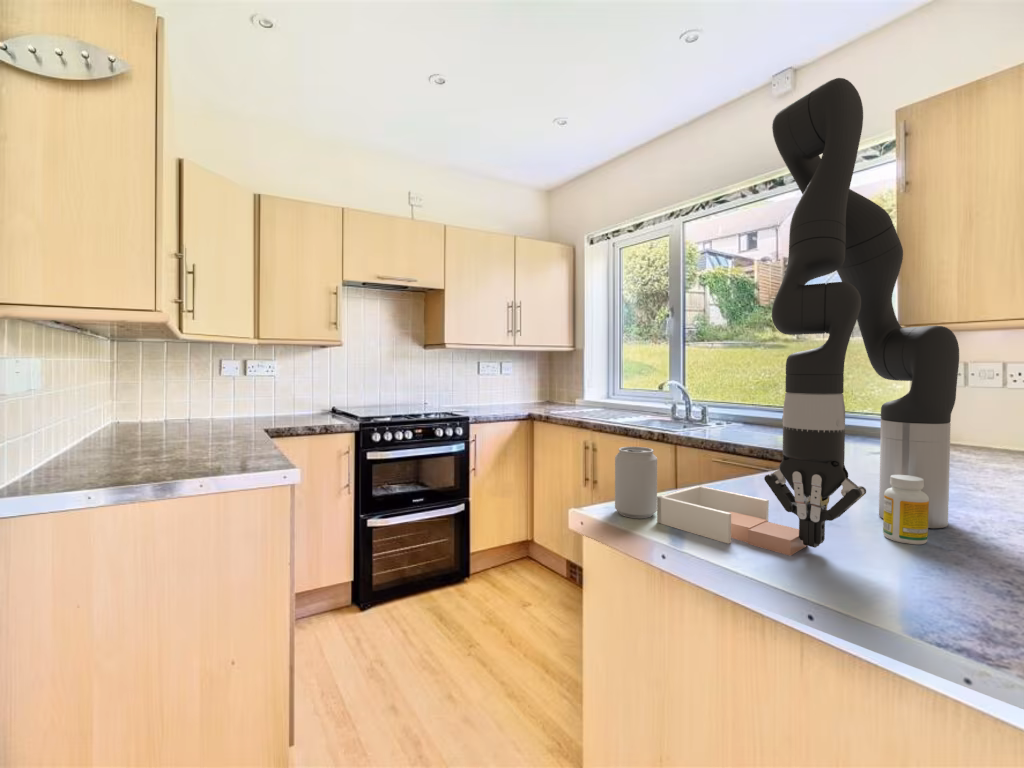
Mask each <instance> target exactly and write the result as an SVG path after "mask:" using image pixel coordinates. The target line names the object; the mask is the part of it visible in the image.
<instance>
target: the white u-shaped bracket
mask: <svg viewBox="0 0 1024 768" xmlns="http://www.w3.org/2000/svg"><path fill="white" fill-rule="evenodd" d="M769 506H770V505H769V499H765V498H761V497H755V496H751V495H745V494H743V493H742V494H741V493H736V492H733V491H732V492H731V491H727V490H722V489H717V488H712V487H708V486H705V485H704V486H703V485H699V484H698V485H696V486H692V487H687V488H685V489H684V488H683V489H680V490H677V491H674V492H669V493H665V494H662V495H657V511H656V522H657V524H661V525H664V526H667V527H672V528H675V529H679V530H681V531H684V532H688V533H691V534H695V535H698V536H701V537H705V538H708V539H711V540H715V541H718V542H721V543H724V544H728V545H730V543H732V538H731V513H728V512H735V513H740V514H744V515H748V516H753V517H757V518H761V519H765V520H768V521H769Z"/></svg>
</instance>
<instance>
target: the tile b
mask: <svg viewBox="0 0 1024 768" xmlns="http://www.w3.org/2000/svg"><path fill="white" fill-rule="evenodd" d="M747 544H748V545H752V546H755V547H758V548H761V549H764V550H768V551H771V552H776V553H779V554H783V555H786V556H790V557H791V556H792V555H794V554H796V553H798V552H799V551H801V550H803V549H805V548H806V545H803V540H800V538H799V528H796V527H792V526H791V527H790V526H787V525H783V524H778V523H775V522H769V521H768V522H767V521H766V522H764V523H762V524H759V525H757V526H755V527H753V528H750V529H748V542H747Z"/></svg>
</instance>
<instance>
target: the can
mask: <svg viewBox="0 0 1024 768" xmlns="http://www.w3.org/2000/svg"><path fill="white" fill-rule="evenodd" d="M618 451H619V452H618V453H616V455H615V456H614V509H615V510H616V511H617V512H618V513H619V515H621V516H623V517H626V518H630V519H647V518H651V517H653V515H655V513H657V496H658V457H657V456H656V455H655V454H654V449H653V448H650V447H646V446H645V447H644V446H622V447H619V448H618Z"/></svg>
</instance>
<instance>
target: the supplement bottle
mask: <svg viewBox="0 0 1024 768" xmlns="http://www.w3.org/2000/svg"><path fill="white" fill-rule="evenodd" d="M890 484H891V485H892V488H888V489H887V490H886V491H885V493H884V517H883V518H882V519H883V520H882V521H883V523H882V525H883V526H882V533H883V535H884V537H886V539H888V540H891V541H893V542H897V543H902V544H909V545H925V544H926V543H927V542H928V536H929V528H928V513H929V497H928V496H927V494H925V493H924V492H922V491H921V489H923V487H924V479H922V478H919V477H915V476H908V475H891V476H890Z"/></svg>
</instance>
